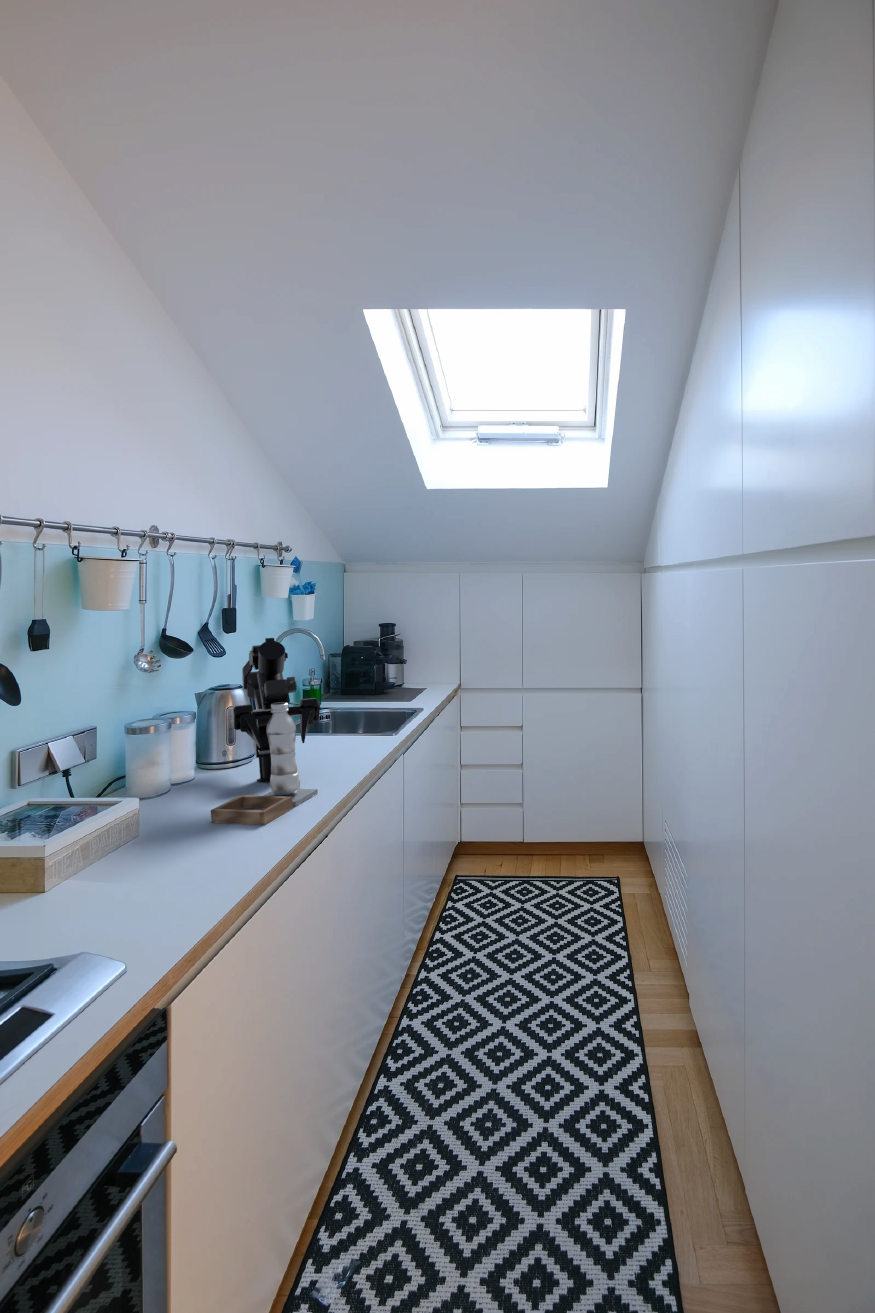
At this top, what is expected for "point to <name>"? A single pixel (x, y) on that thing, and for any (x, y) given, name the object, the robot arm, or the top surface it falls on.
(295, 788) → the plastic bottle
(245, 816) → the walnut collar
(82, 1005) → the top surface
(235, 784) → the top surface
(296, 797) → the slate pad
